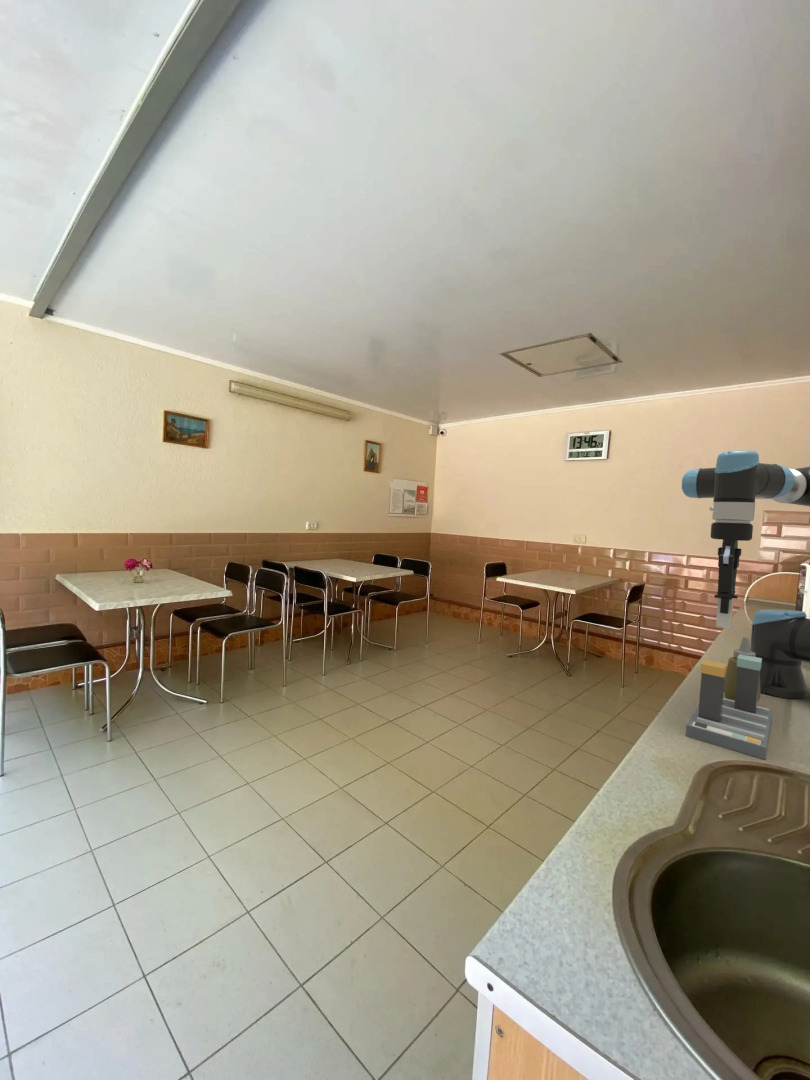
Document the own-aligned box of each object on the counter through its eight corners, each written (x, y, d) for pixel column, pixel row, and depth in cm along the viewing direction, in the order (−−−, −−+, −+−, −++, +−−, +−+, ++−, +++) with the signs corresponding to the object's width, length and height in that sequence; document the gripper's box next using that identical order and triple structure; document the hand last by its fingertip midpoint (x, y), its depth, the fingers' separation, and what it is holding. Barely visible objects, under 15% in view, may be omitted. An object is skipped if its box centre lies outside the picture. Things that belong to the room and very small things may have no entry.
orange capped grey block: (699, 713, 107) (704, 659, 107) (722, 719, 104) (727, 664, 104) (696, 719, 104) (701, 663, 103) (719, 726, 101) (724, 668, 100)
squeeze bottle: (754, 703, 122) (760, 636, 120) (763, 714, 114) (769, 644, 113) (718, 696, 125) (723, 632, 124) (725, 708, 118) (730, 639, 117)
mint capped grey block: (734, 705, 113) (739, 654, 112) (757, 711, 110) (761, 658, 109) (733, 711, 109) (737, 658, 109) (756, 717, 107) (760, 662, 106)
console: (703, 702, 121) (704, 689, 120) (771, 719, 112) (772, 705, 111) (685, 735, 102) (686, 720, 102) (765, 759, 93) (766, 743, 92)
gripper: (715, 521, 108) (708, 619, 110) (707, 521, 98) (698, 628, 100) (755, 522, 103) (746, 625, 105) (750, 522, 93) (741, 635, 95)
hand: (723, 627), depth 102 cm, fingers closed
